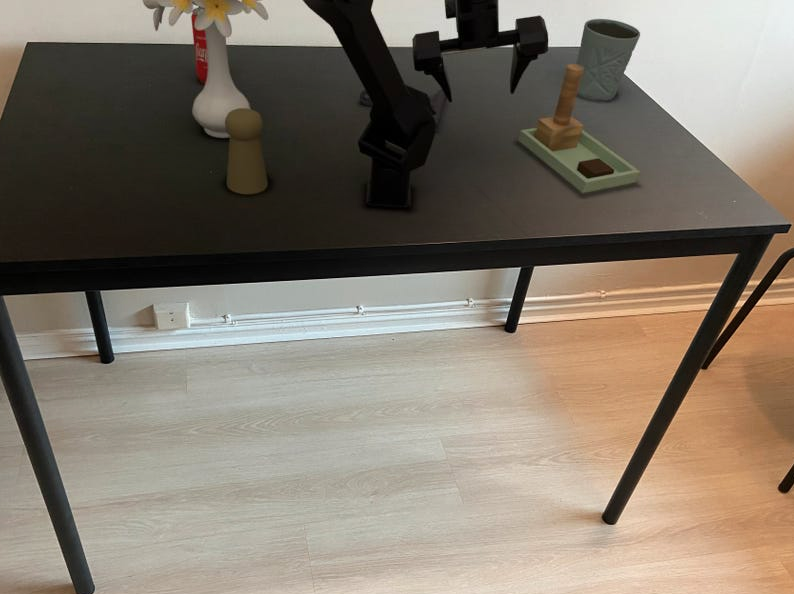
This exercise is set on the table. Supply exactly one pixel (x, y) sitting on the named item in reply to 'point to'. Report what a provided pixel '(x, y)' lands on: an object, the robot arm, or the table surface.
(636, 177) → the tray
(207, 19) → the flower vase
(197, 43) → the beverage can
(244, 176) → the brown pawn
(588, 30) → the grey-green cup
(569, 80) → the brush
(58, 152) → the table surface
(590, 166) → the dark brown block
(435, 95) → the bracket
